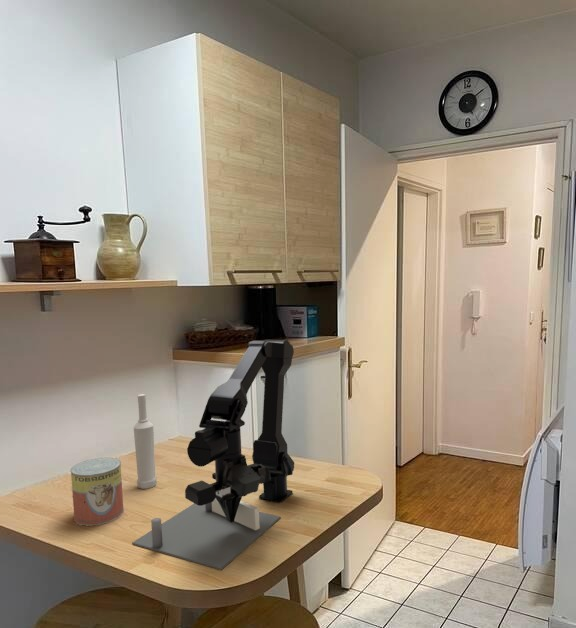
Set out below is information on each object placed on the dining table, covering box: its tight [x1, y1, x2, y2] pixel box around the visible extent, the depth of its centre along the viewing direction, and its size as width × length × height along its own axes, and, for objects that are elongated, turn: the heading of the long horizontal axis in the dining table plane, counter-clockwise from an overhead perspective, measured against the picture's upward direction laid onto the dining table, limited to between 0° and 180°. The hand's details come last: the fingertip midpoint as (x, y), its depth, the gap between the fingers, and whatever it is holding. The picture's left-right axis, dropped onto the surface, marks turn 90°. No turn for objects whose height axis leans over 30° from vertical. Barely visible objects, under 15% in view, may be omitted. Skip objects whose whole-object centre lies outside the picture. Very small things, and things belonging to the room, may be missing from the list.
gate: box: [205, 498, 260, 530], centre depth 116 cm, size 18×2×5 cm, turn 47°
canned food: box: [70, 457, 125, 527], centre depth 122 cm, size 11×11×12 cm
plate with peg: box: [131, 503, 282, 571], centre depth 112 cm, size 23×23×6 cm
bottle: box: [133, 393, 157, 490], centre depth 138 cm, size 5×5×25 cm
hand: (231, 521), depth 110 cm, fingers closed
